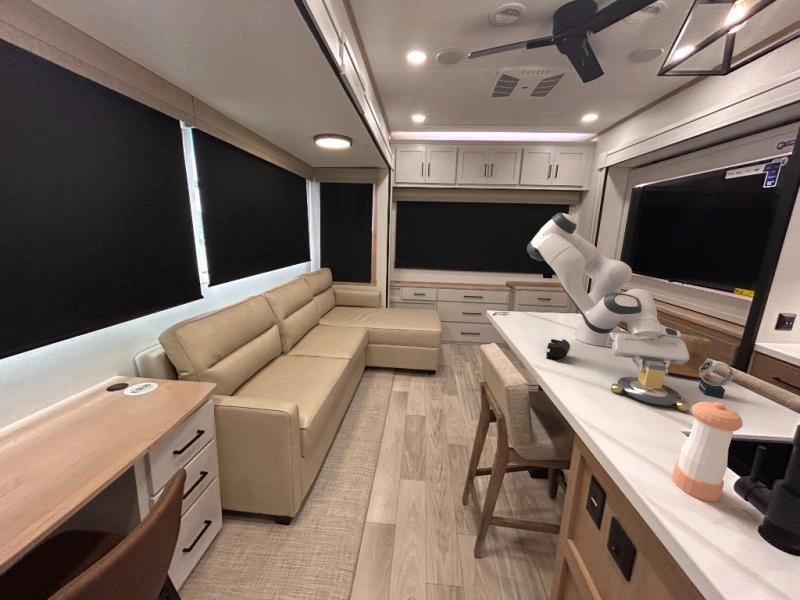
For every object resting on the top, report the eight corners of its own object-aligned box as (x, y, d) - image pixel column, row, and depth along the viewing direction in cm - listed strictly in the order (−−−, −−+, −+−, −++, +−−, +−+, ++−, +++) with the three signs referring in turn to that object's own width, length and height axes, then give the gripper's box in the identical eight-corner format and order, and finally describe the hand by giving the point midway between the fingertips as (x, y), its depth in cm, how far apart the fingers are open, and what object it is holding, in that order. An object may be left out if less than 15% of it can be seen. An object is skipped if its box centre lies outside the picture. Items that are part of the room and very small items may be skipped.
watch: (691, 386, 107) (699, 356, 104) (722, 392, 103) (732, 361, 101) (696, 393, 102) (705, 362, 99) (730, 400, 98) (740, 368, 96)
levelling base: (637, 378, 111) (639, 372, 110) (705, 406, 94) (707, 399, 94) (602, 388, 103) (604, 382, 103) (669, 420, 86) (671, 413, 86)
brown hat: (698, 370, 119) (709, 333, 116) (715, 384, 109) (727, 344, 105) (650, 363, 125) (659, 327, 121) (662, 375, 114) (671, 337, 111)
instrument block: (638, 380, 102) (643, 358, 100) (653, 382, 100) (659, 360, 99) (644, 386, 97) (649, 364, 96) (661, 388, 96) (666, 366, 95)
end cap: (564, 363, 121) (567, 347, 120) (545, 359, 125) (547, 343, 124) (568, 356, 129) (571, 340, 128) (550, 351, 133) (552, 336, 132)
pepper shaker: (681, 494, 62) (706, 408, 57) (665, 469, 69) (687, 390, 64) (728, 507, 59) (758, 418, 55) (707, 479, 66) (732, 398, 62)
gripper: (613, 325, 104) (619, 364, 97) (686, 332, 99) (698, 373, 92) (606, 333, 110) (611, 371, 103) (674, 340, 105) (685, 380, 98)
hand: (653, 372), depth 97 cm, fingers closed on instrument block, 4 cm apart
